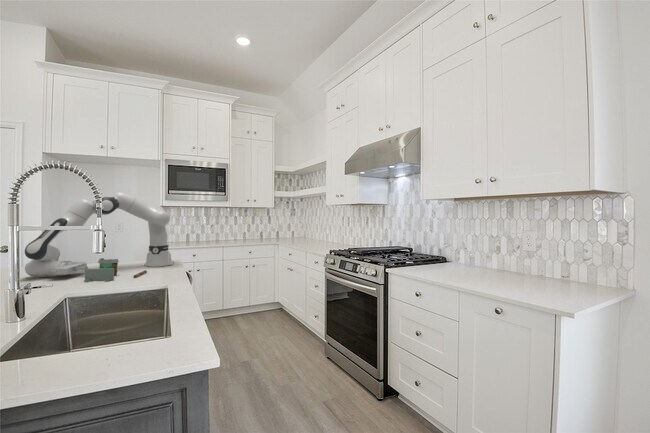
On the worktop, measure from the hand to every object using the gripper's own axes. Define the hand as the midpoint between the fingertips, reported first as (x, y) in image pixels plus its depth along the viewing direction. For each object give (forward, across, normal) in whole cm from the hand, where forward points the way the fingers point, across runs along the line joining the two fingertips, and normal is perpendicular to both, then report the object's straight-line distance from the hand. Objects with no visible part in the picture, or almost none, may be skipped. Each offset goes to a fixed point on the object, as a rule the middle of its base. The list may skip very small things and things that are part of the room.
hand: (86, 268), depth 186 cm
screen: (+13, -14, +5) cm, 20 cm away
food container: (+10, 0, +5) cm, 12 cm away
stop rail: (+29, 0, +5) cm, 30 cm away
